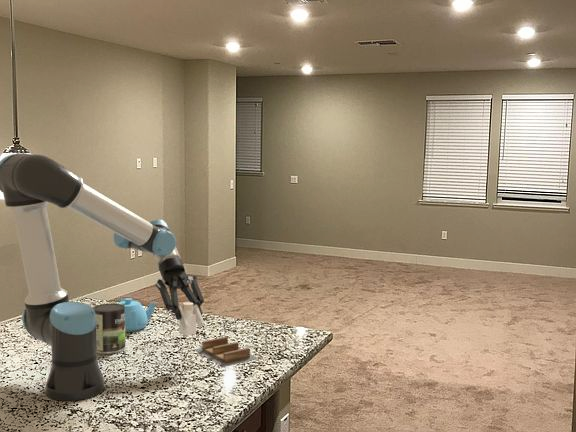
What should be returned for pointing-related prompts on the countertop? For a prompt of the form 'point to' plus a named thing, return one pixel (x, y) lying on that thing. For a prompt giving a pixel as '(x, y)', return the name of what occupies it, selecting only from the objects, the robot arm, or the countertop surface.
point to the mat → (223, 362)
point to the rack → (225, 350)
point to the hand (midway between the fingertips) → (193, 326)
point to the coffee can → (110, 328)
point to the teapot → (136, 314)
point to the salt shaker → (188, 320)
